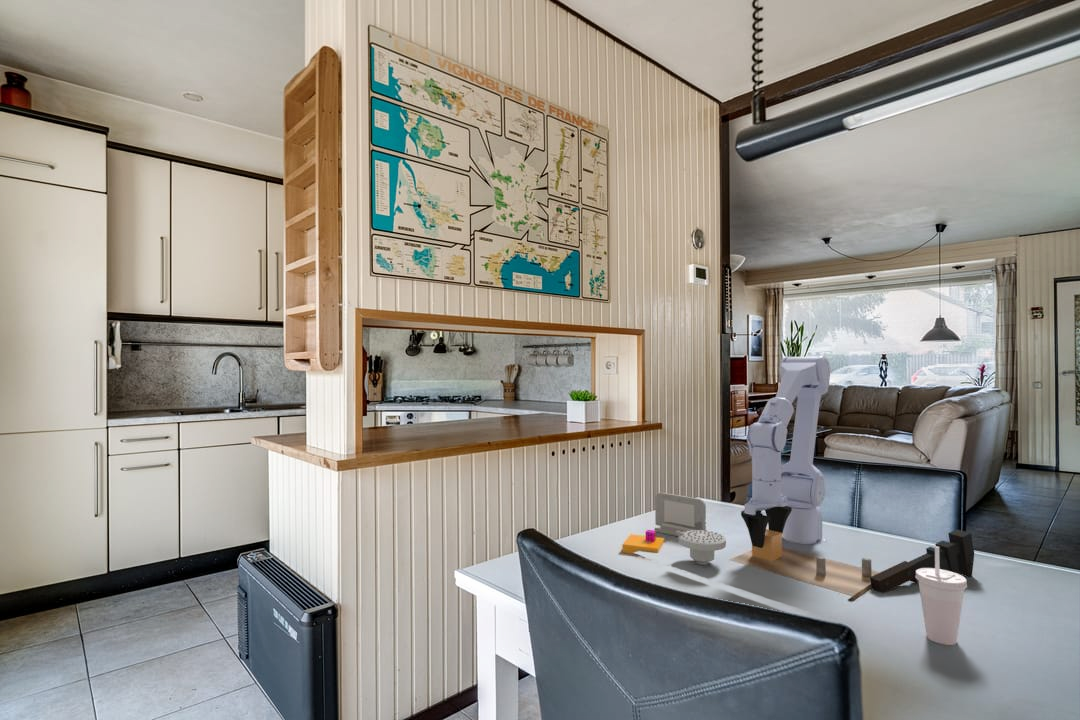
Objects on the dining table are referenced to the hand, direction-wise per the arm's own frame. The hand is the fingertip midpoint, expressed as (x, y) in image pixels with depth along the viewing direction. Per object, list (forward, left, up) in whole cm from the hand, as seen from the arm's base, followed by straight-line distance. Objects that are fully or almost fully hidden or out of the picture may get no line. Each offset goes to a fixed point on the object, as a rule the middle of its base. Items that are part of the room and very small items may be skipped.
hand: (766, 542), depth 118 cm
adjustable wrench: (-12, +25, -4) cm, 28 cm away
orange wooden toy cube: (0, 0, -3) cm, 3 cm away
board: (0, +8, -4) cm, 9 cm away
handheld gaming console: (-4, -23, -4) cm, 24 cm away
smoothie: (+12, +34, -4) cm, 36 cm away
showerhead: (+14, -7, -4) cm, 16 cm away
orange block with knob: (+14, -22, -5) cm, 26 cm away
